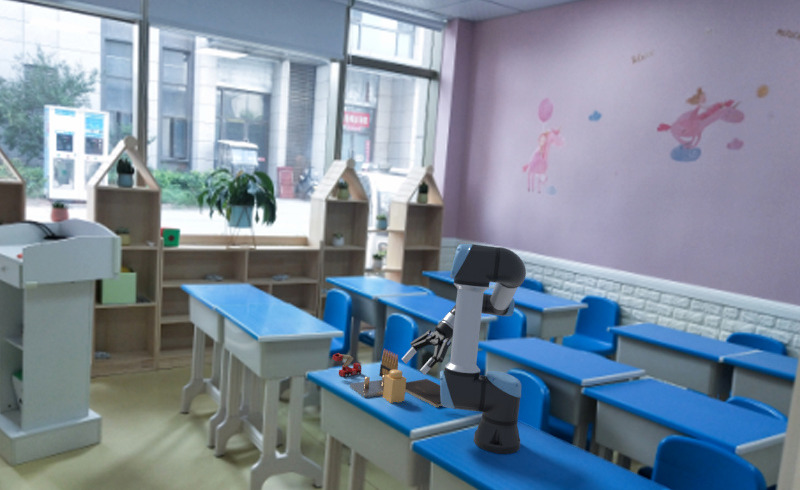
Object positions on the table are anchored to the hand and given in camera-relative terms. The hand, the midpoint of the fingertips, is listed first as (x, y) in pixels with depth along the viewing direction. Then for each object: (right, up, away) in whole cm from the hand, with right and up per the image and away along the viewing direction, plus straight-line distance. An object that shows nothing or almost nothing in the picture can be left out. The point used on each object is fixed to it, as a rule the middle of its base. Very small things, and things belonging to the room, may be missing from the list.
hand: (412, 367), depth 236 cm
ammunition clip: (-10, -9, +19) cm, 24 cm away
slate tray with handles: (-15, -10, +5) cm, 18 cm away
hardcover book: (+7, -13, +6) cm, 16 cm away
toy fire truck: (-27, -8, +19) cm, 34 cm away
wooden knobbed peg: (-7, -12, -4) cm, 14 cm away
